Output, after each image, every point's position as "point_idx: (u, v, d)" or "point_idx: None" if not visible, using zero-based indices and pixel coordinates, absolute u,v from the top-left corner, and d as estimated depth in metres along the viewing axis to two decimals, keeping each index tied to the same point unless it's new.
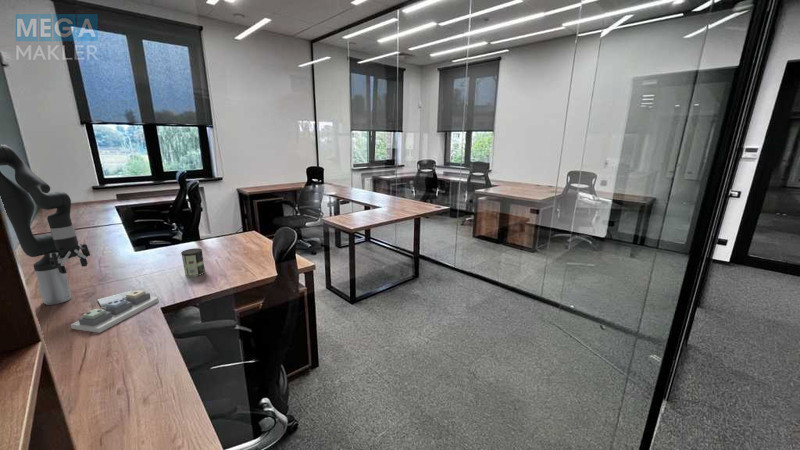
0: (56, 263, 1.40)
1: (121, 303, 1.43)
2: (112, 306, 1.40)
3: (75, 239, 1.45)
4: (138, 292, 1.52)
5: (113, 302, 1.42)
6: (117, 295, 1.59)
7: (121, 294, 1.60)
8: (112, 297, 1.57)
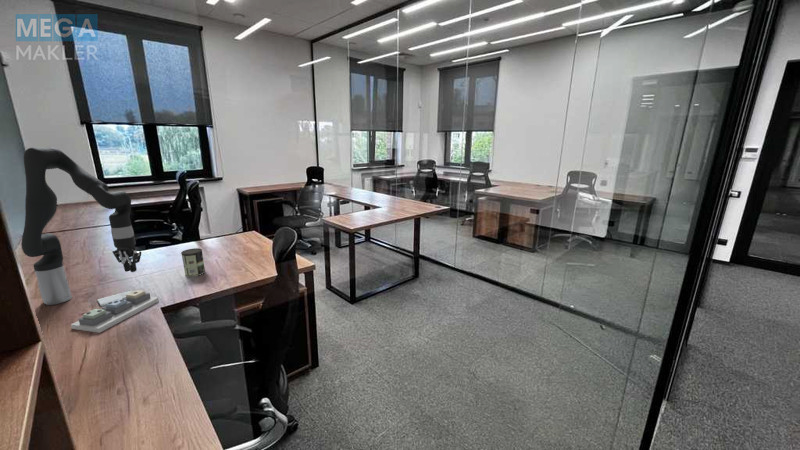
0: None
1: (121, 303, 1.43)
2: (112, 306, 1.40)
3: None
4: (138, 292, 1.52)
5: (113, 302, 1.42)
6: (117, 295, 1.59)
7: (121, 294, 1.60)
8: (112, 297, 1.57)
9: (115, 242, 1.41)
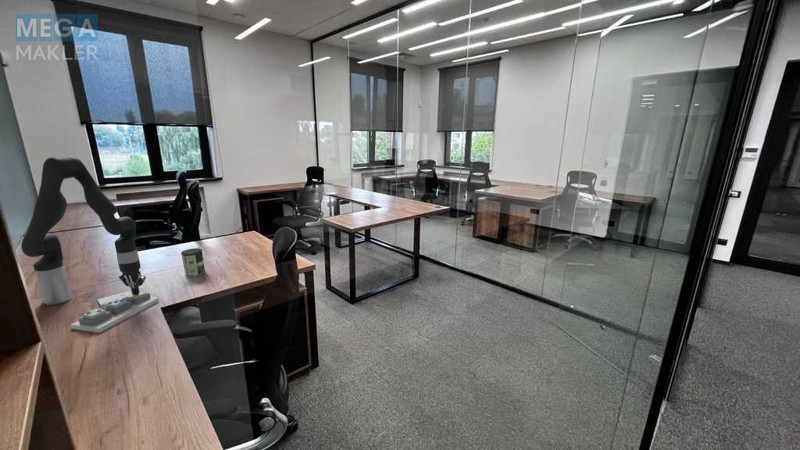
0: None
1: (121, 303, 1.43)
2: (112, 306, 1.40)
3: None
4: (138, 294, 1.52)
5: (113, 302, 1.42)
6: (117, 295, 1.59)
7: (121, 294, 1.60)
8: (112, 297, 1.57)
9: (121, 267, 1.44)
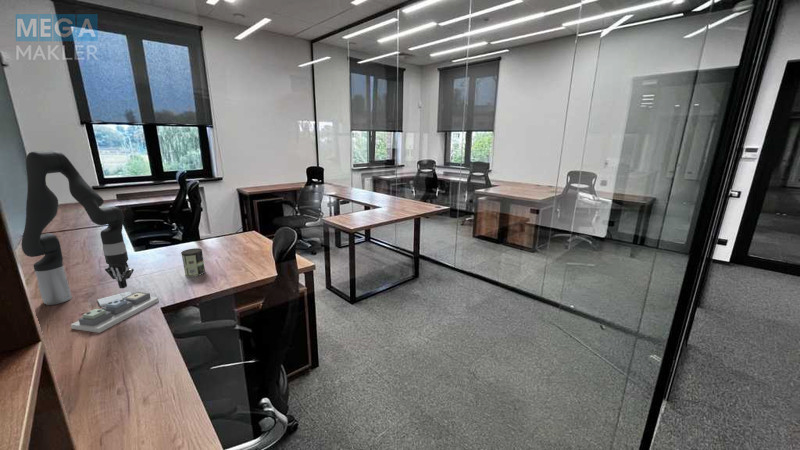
0: None
1: (121, 303, 1.43)
2: (112, 306, 1.40)
3: None
4: (139, 295, 1.52)
5: (113, 302, 1.42)
6: (117, 295, 1.59)
7: (121, 294, 1.60)
8: (112, 297, 1.57)
9: (107, 259, 1.38)
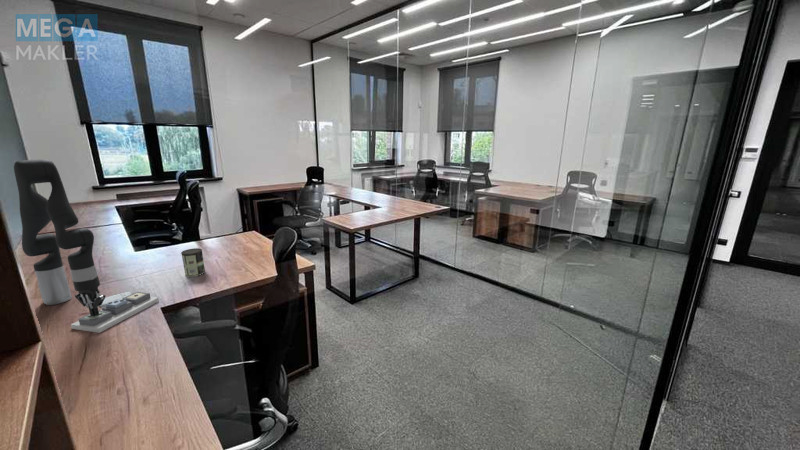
0: None
1: (121, 303, 1.43)
2: (112, 306, 1.40)
3: None
4: (139, 295, 1.52)
5: (113, 302, 1.42)
6: (117, 295, 1.58)
7: (121, 294, 1.60)
8: (112, 297, 1.57)
9: (75, 285, 1.27)
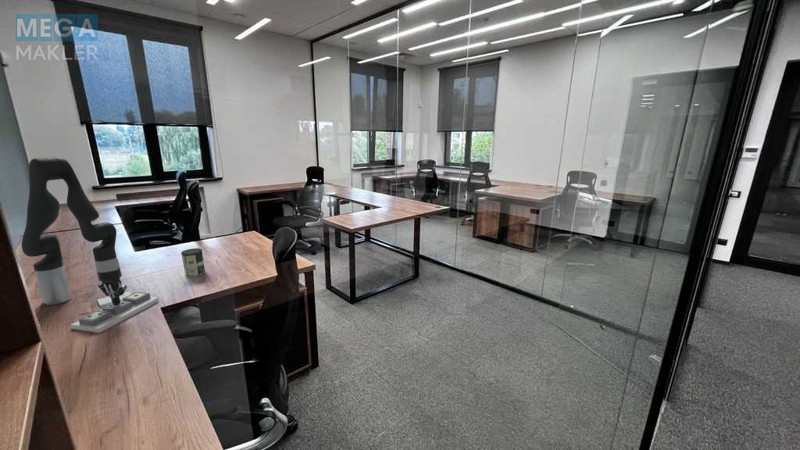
0: None
1: None
2: None
3: None
4: (139, 295, 1.52)
5: (114, 305, 1.42)
6: None
7: None
8: None
9: (99, 276, 1.35)
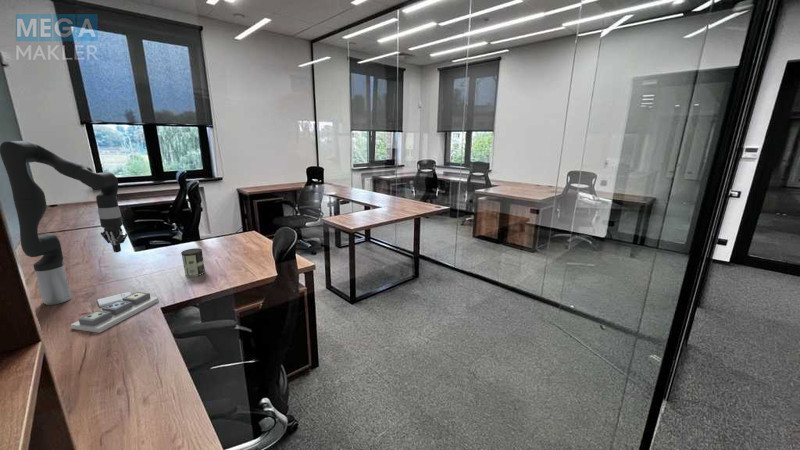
0: None
1: None
2: None
3: None
4: (139, 295, 1.52)
5: (114, 305, 1.43)
6: (117, 296, 1.58)
7: (121, 295, 1.59)
8: (112, 297, 1.57)
9: (102, 222, 1.44)
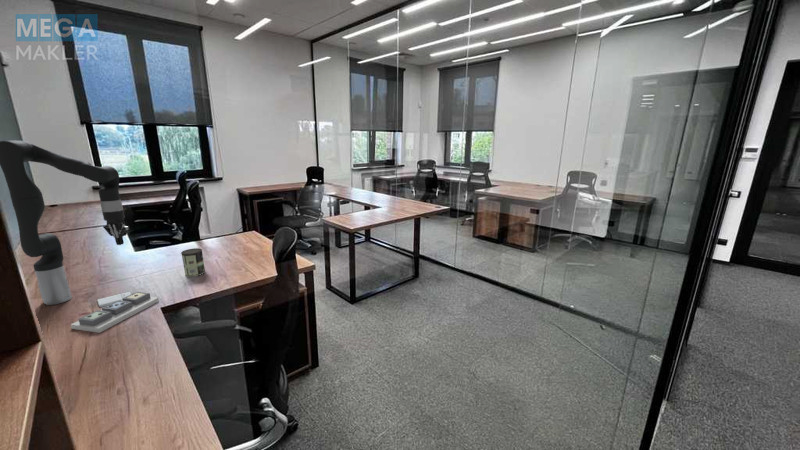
0: None
1: None
2: None
3: None
4: (139, 295, 1.52)
5: (114, 305, 1.43)
6: (117, 296, 1.58)
7: (121, 295, 1.59)
8: (112, 297, 1.57)
9: (104, 215, 1.47)
